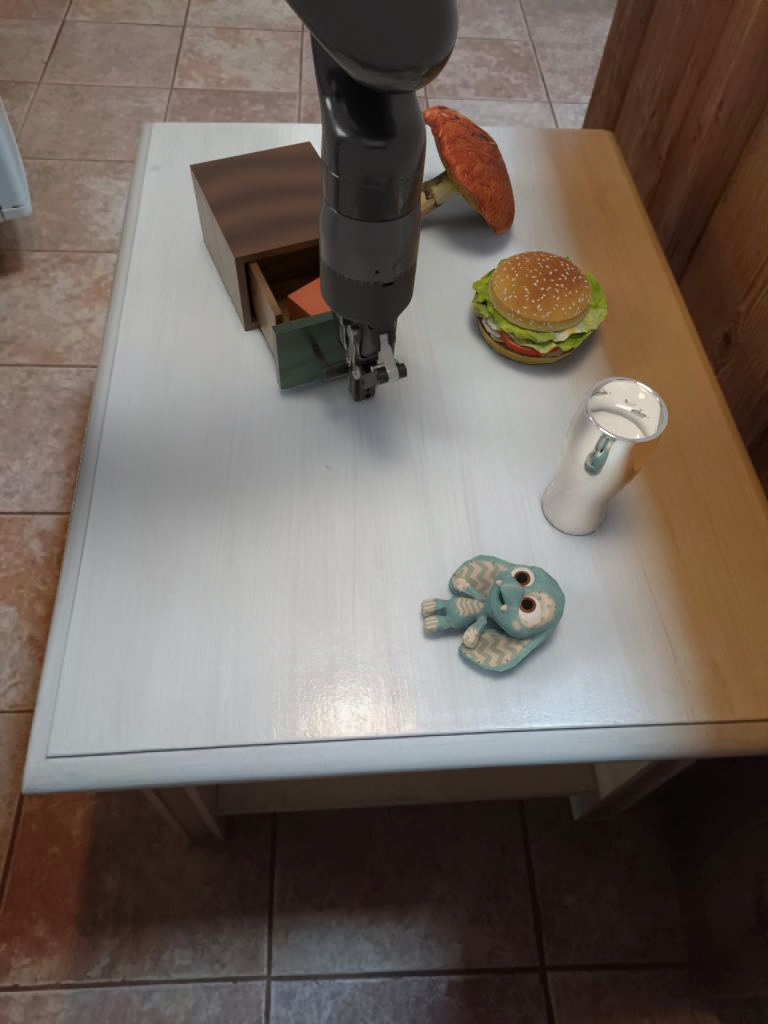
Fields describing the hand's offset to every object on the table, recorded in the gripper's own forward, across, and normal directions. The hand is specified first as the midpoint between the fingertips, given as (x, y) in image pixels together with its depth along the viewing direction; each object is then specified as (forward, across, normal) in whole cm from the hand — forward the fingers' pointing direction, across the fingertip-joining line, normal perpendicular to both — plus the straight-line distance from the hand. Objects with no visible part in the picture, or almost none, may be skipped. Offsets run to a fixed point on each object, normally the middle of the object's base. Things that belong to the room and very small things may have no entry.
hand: (361, 394), depth 69 cm
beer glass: (+5, +17, +15) cm, 23 cm away
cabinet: (+4, -24, 0) cm, 25 cm away
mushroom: (-1, -27, +22) cm, 35 cm away
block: (+2, -12, 0) cm, 12 cm away
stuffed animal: (+5, +24, +2) cm, 24 cm away
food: (+5, -5, +23) cm, 24 cm away
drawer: (+4, -11, 0) cm, 12 cm away
